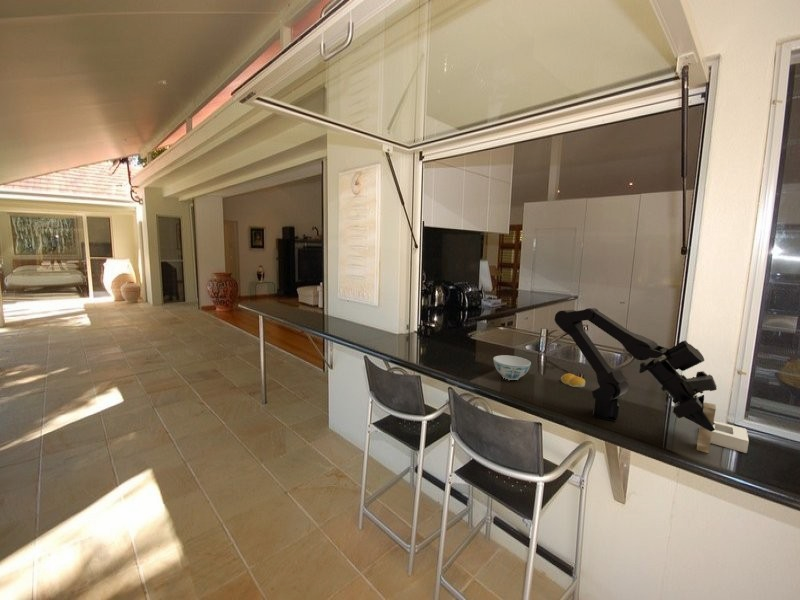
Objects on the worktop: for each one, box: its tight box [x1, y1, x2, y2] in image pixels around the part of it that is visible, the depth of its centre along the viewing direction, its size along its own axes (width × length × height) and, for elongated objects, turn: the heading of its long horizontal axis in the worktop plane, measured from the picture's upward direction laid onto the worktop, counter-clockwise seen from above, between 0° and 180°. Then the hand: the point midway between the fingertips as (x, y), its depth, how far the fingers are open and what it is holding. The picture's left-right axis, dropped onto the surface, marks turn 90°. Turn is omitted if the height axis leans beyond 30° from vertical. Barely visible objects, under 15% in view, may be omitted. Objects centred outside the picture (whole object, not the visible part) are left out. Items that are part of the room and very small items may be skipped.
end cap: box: [710, 420, 750, 454], centre depth 104 cm, size 10×10×4 cm
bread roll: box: [560, 372, 586, 388], centre depth 147 cm, size 8×9×4 cm
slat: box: [696, 401, 717, 454], centre depth 98 cm, size 2×4×12 cm, turn 139°
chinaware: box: [493, 354, 532, 381], centre depth 150 cm, size 15×15×8 cm
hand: (713, 427), depth 97 cm, fingers closed on slat, 4 cm apart
